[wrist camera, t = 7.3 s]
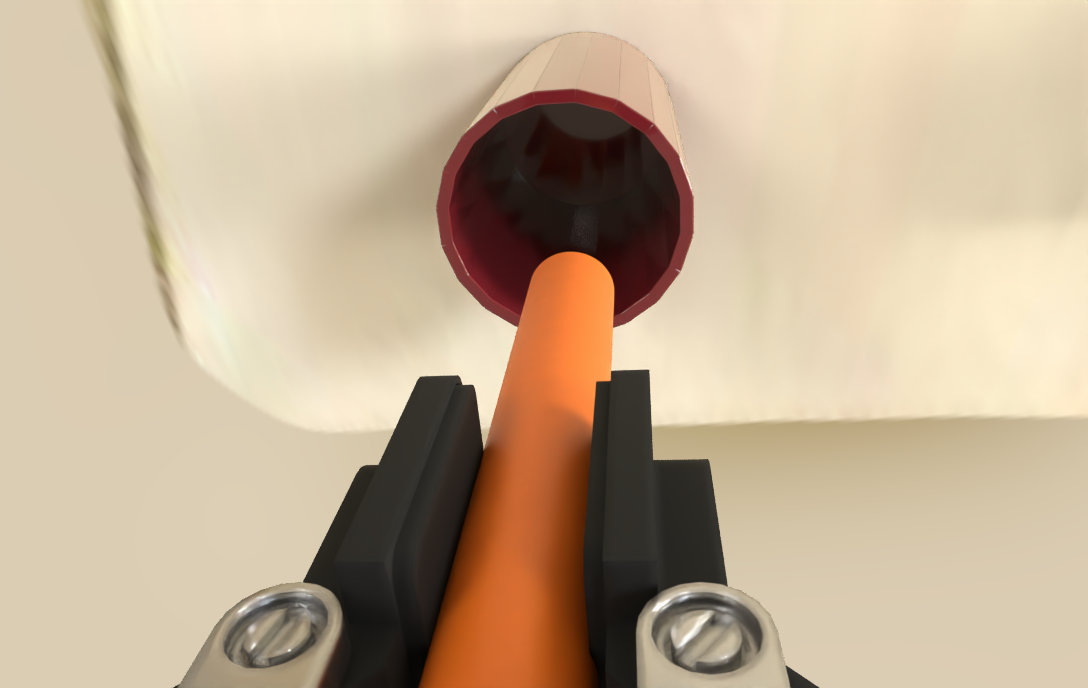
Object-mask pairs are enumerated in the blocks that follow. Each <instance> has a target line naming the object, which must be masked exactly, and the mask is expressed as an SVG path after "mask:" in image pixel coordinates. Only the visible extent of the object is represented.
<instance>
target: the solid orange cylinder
mask: <svg viewBox="0 0 1088 688" xmlns="http://www.w3.org/2000/svg"><path fill="white" fill-rule="evenodd" d="M613 313H614V284H613V280H612V278H611V275H610V274H609V272H608V270H607V269H606V268H605V267H604V265H603V264H601V263H600V262H599V261H598V260H596V259H595V258H593V257H591V256H589V255H587V254H583V253H579V252H563V253H558V254H556V255H553V256H551V257H549V258H547V259H546V260H544V261H543V262H542V263H541V264H540V265H539V266H538V267H537V269H536V270H535V272H534V273H533V276H532V278H531V282H530V285H529V289H528V293H527V296H526V300H525V303H524V307H523V311H522V314H521V318H520V322H519V325H518V329H517V332H516V336H515V340H514V343H513V347H512V351H511V354H510V358H509V361H508V365H507V369H506V372H505V376H504V380H503V383H502V387H501V390H500V394H499V398H498V401H497V405H496V409H495V412H494V416H493V419H492V423H491V427H490V430H489V434H488V438H487V441H486V445H485V449H484V452H483V456H482V459H481V463H480V467H479V470H478V474H477V478H476V481H475V485H474V488H473V492H472V496H471V499H470V503H469V507H468V510H467V514H466V517H465V521H464V525H463V528H462V532H461V536H460V539H459V543H458V546H457V550H456V554H455V557H454V561H453V565H452V568H451V572H450V575H449V579H448V583H447V586H446V590H445V594H444V597H443V601H442V604H441V608H440V612H439V615H438V619H437V623H436V626H435V630H434V633H433V637H432V641H431V644H430V648H429V652H428V655H427V659H426V662H425V666H424V670H423V673H422V677H421V681H420V684H419V688H598V674H597V669H596V666H595V663H594V661H593V659H592V657H591V655H590V650H589V637H588V625H587V613H586V600H585V588H584V560H583V558H584V535H585V522H586V509H587V495H588V482H589V469H590V456H591V442H592V429H593V416H594V402H595V389H596V381H610V380H611V361H612V337H613Z"/></svg>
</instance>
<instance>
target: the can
mask: <svg viewBox="0 0 1088 688" xmlns="http://www.w3.org/2000/svg"><path fill="white" fill-rule="evenodd" d="M436 207H437V208H436V211H437V218H438V225H439V232H440V239H441V245H442V248H443V250H444V252H445V254H446V256H447V258H448V260H449V262H450V264H451V266H452V268H453V271H454V273H455V275H456V277H457V279H459V281H460V283H461V284H462V285H463V286H464V287H465V288H466V289H467V290H468V291H469V292H470V293H471V294H472V295H473V296H474V298H475V299H476V300H477V301H478V302H479V303H480V304H481V305H482V306H483V307H485V309H487V310H489V311H490V312H492V313H494V314H496V315H497V316H499V317H501V318H502V319H504V320H506V321H507V322H509V323H511V324H513V325H514V326H517V327H518V325H519V322H520V318H521V314H522V311H523V307H524V303H525V300H526V296H527V293H528V289H529V285H530V282H531V278H532V276H533V273H534V272H535V270H536V269H537V267H538V266H539V265H540V264H541V263H542V262H543V261H544V260H546V259H547V258H549V257H551V256H553V255H556V254H558V253H563V252H579V253H583V254H587V255H589V256H591V257H593V258H595V259H596V260H598V261H599V262H600V263H601V264H603V265H604V267H605V268H606V269H607V270H608V272H609V274H610V275H611V278H612V280H613V284H614V313H613V328H614V327H617V326H620V325H623V324H626V323H628V322H629V321H631V320H632V319H634V318H635V317H637V316H638V315H639V314H641V313H642V312H644V311H645V310H647V309H648V308H649V307H651V306H652V305H654V304H655V303H656V302H657V301H658V300H659V299H660V298H661V297H662V296H663V294H664V293H665V292H666V290H667V289H668V288H669V286H670V285H671V284H672V282H673V281H674V280H675V278H676V277H677V276H678V274H679V273H680V271H681V270H682V267H683V264H684V261H685V258H686V255H687V252H688V249H689V246H690V244H691V241H692V238H693V233H694V196H693V191H692V186H691V182H690V177H689V173H688V169H687V164H686V160H685V155H684V151H683V147H682V142H681V138H680V134H679V129H678V125H677V120H676V116H675V112H674V107H673V104H672V101H671V98H670V95H669V92H668V89H667V86H666V84H665V81H664V79H663V78H662V76H661V74H660V73H659V71H658V70H657V69H656V67H655V66H654V64H653V63H652V62H651V61H650V60H649V59H648V58H647V57H646V56H645V55H644V54H643V53H642V52H640V51H639V50H638V49H637V48H635V47H634V46H632V45H630V44H629V43H627V42H625V41H623V40H621V39H619V38H616V37H613V36H610V35H606V34H602V33H595V32H577V33H570V34H565V35H562V36H558V37H555V38H553V39H551V40H548V41H546V42H544V43H543V44H541V45H539V46H538V47H536V48H535V49H533V50H532V51H531V52H530V53H529V54H527V55H526V56H525V57H524V58H523V59H522V60H521V61H520V62H519V63H518V64H517V65H516V66H515V67H514V68H513V70H512V71H511V72H510V74H509V75H508V76H507V77H506V79H505V80H504V81H503V83H502V84H501V85H500V87H499V88H498V89H497V91H496V92H495V93H494V95H493V96H492V97H491V98H490V100H489V101H488V102H487V104H486V105H485V106H484V108H483V109H482V110H481V112H480V113H479V114H478V116H477V117H476V118H475V119H474V121H473V122H472V123H471V125H470V126H469V127H468V129H467V130H466V131H465V133H464V134H463V135H462V137H461V138H460V140H459V142H458V144H457V146H456V147H455V149H454V151H453V153H452V154H451V156H450V158H449V160H448V161H447V163H446V165H445V167H444V170H443V172H442V178H441V183H440V189H439V194H438V200H437V205H436Z"/></svg>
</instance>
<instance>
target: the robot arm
mask: <svg viewBox="0 0 1088 688" xmlns="http://www.w3.org/2000/svg"><path fill="white" fill-rule="evenodd" d="M483 452H484V450H483V442H482V435H481V428H480V420H479V413H478V406H477V398H476V392H475V388H474V386H473V385H462V382H461V379H460V377H459V376H458V375H457V376H423V377H420V378H419V379H418V381H417V383H416V385H415V387H414V389H413V391H412V393H411V396H410V398H409V400H408V402H407V404H406V406H405V409H404V411H403V413H402V415H401V417H400V419H399V422H398V424H397V426H396V428H395V430H394V432H393V435H392V437H391V439H390V441H389V443H388V445H387V448H386V450H385V452H384V454H383V456H382V458H381V461H380V463H379V465H366V466H363V467H361V468H360V469H359V471H358V472H357V474H356V476H355V478H354V480H353V482H352V484H351V486H350V488H349V490H348V492H347V494H346V496H345V498H344V500H343V502H342V504H341V506H340V508H339V510H338V512H337V514H336V516H335V518H334V520H333V522H332V524H331V526H330V528H329V531H328V533H327V534H326V536H325V539H324V540H323V542H322V545H321V547H320V549H319V551H318V553H317V555H316V557H315V559H314V561H313V563H312V565H311V567H310V569H309V571H308V573H307V575H306V577H305V579H304V581H303V583H302V582H297V583H286V584H280V585H276V586H273V587H269V588H266V589H263V590H260V591H258V592H256V593H254V594H252V595H250V596H249V597H247V598H245V599H243V600H241V601H240V602H239V603H237V604H236V605H235V606H234V607H232V608H231V609H230V610H229V611H227V612H226V613H225V614H224V616H223V617H222V618H221V619H220V621H219V622H218V623H217V624H216V626H215V627H214V629H213V630H212V632H211V634H210V635H209V637H208V639H207V640H206V642H205V644H204V645H203V647H202V648H201V650H200V652H199V654H198V655H197V657H196V658H195V660H194V662H193V663H192V665H191V667H190V668H189V670H188V672H187V673H186V675H185V677H184V678H183V680H182V681H181V683H180V684H179V685H177V686H175V687H174V688H419V684H420V681H421V677H422V673H423V670H424V666H425V662H426V659H427V655H428V652H429V648H430V644H431V641H432V637H433V633H434V630H435V626H436V623H437V619H438V615H439V612H440V608H441V604H442V601H443V597H444V594H445V590H446V586H447V583H448V579H449V575H450V572H451V568H452V565H453V561H454V557H455V554H456V550H457V546H458V543H459V539H460V536H461V532H462V528H463V525H464V521H465V517H466V514H467V510H468V507H469V503H470V499H471V496H472V492H473V488H474V485H475V481H476V478H477V474H478V470H479V467H480V463H481V459H482V456H483ZM583 560H584V588H585V600H586V613H587V625H588V637H589V650H590V655H591V657H592V659H593V661H594V663H595V666H596V669H597V674H598V688H819V687H817V686H816V685H814V684H813V683H811V682H810V681H808V680H807V679H805V678H804V677H802V676H801V675H800V674H798V673H797V672H795V671H793V670H792V669H791V668H789V667H788V666H786V665H785V661H784V657H783V652H782V648H781V644H780V639H779V635H778V630H777V628H776V626H775V624H774V621H773V619H772V617H771V615H770V614H769V612H767V610H765V608H764V607H763V606H762V605H761V604H760V603H759V602H758V601H757V600H755V599H754V598H752V597H750V596H749V595H747V594H746V593H744V592H742V591H740V590H737V589H734V588H731V587H728V585H727V578H726V572H725V565H724V557H723V551H722V544H721V537H720V530H719V523H718V517H717V510H716V503H715V496H714V489H713V483H712V475H711V469H710V463H709V460H708V459H703V460H702V459H701V460H653V449H652V425H651V401H650V377H649V370H622V371H611V380H610V381H596V389H595V402H594V416H593V429H592V442H591V456H590V469H589V482H588V495H587V509H586V522H585V535H584V558H583Z"/></svg>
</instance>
